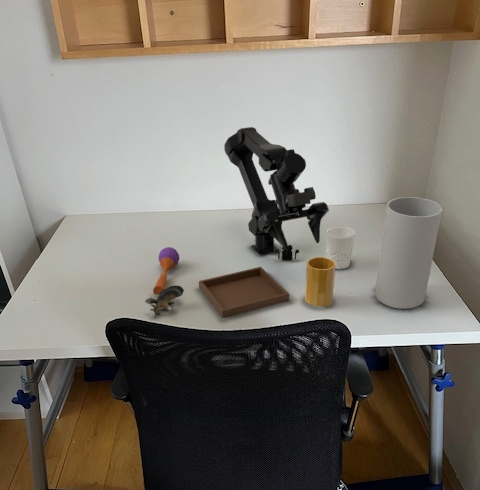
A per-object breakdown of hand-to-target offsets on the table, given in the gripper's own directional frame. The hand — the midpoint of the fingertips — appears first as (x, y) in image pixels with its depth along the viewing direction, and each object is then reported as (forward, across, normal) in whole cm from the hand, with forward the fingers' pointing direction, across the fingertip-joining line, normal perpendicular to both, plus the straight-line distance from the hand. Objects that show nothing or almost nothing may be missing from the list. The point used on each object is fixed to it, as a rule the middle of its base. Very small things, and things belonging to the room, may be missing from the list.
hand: (302, 245), depth 140 cm
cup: (+15, 0, +1) cm, 15 cm away
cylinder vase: (+20, +20, -3) cm, 29 cm away
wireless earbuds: (-2, +3, +19) cm, 19 cm away
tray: (+8, -17, +9) cm, 21 cm away
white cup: (+4, +16, +13) cm, 20 cm away
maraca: (-5, -33, +22) cm, 40 cm away
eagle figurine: (+6, -37, +10) cm, 39 cm away
